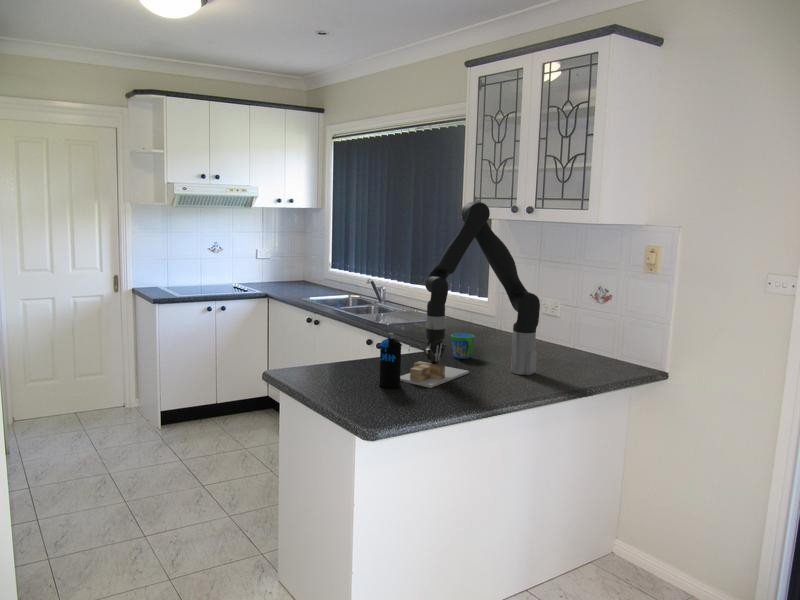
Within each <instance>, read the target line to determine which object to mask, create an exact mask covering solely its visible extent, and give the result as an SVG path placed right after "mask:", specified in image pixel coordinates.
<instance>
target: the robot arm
mask: <svg viewBox="0 0 800 600" xmlns="http://www.w3.org/2000/svg"><path fill="white" fill-rule="evenodd" d="M460 215H461V219H462V221H463V223H464V224H463V226H462V228H461V229H460V231H459V232H458V234H457V235H456V236H455V238H454V239H453V240H452V241H451V242H450V243H449V245H448V246H447V247H446V249H445V250H444V252H443V254H442V255H441V257H440V259H439V262H438V264H436V266H435V267H434V268H433V269H432V271H431V272H430V273H429V274H428V276H427V278H426V280H425V289H426V290H427V291H428V292H429V293H430V300H428V302H427V305H426V320H425V338H426V340H428V341H427V347H426V348H424V349H423V352H424V354H425V356H426V358H427V360H429V361H431V364H436V365H439V361H440V359H441V358H442V357H443V356H444V353H445V350H446V348H447V344H444V343H443V342H444V339H445V338H446V303H447V298H448V294H449V284H448V281H447V278H448V277H449V275H450V276H451V275H452V274H454V272H455V271H456V269H457V268H458V266H459V264H460V262H461V260H462V258H463V257H464V255H465V253H466V252H467V249H469V246H470V245H471V243H472V242H473V240H476V241H477V243H478V245H479V247H480V249H481V252H482V253H483V255H484V257H485V258H486V260H487V263H488V264H489V266H490V268H491V269H492V271H493V273H494V274H495V276H496V278H497V279H498V280H499V282H500V283H501V285H502V286H503V289H504V291H505V292H506V295H507V297H508V301H510V304H511V306H512V309H513V310H514V311H516V312H517V319H516V322H514V323H513V324H512V343H511V358H510V359H511V361H510V373H512V374H516V375H520V376H521V375H522V376H531V375H533V374H535V373H536V371H537V370H536V369H537V353H538V350H537V349H536V337H537V335H536V333H537V327H538V326H539V321H540V311H541V310H540V309H541V302H540V298H539V296H537V295H536V294H534V293H532V292H529V291H528V290H527V288H526V287H525V286H524V284H523V283H522V281H521V279H520V277H519V275H518V270H517V265H516V263H515V262H516V261H515V260H514V257H513V255H512V254H511V252H510V250H509V249H508V248H507V246H506V244H505V243H504V242H503V241H502V240H501V239H500V237H499V236H498V235H496V234H495V232H494V230H492V228H491V227H490V226H489V223H488V221H489V219H490V215H491V213H490V208H489V206H488V205H487V204H486V203H484V202H481V201H480V202H478V201H474V202H473V201H472V202H467V203H465V204H464V206H462V209H461V212H460Z"/></svg>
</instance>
